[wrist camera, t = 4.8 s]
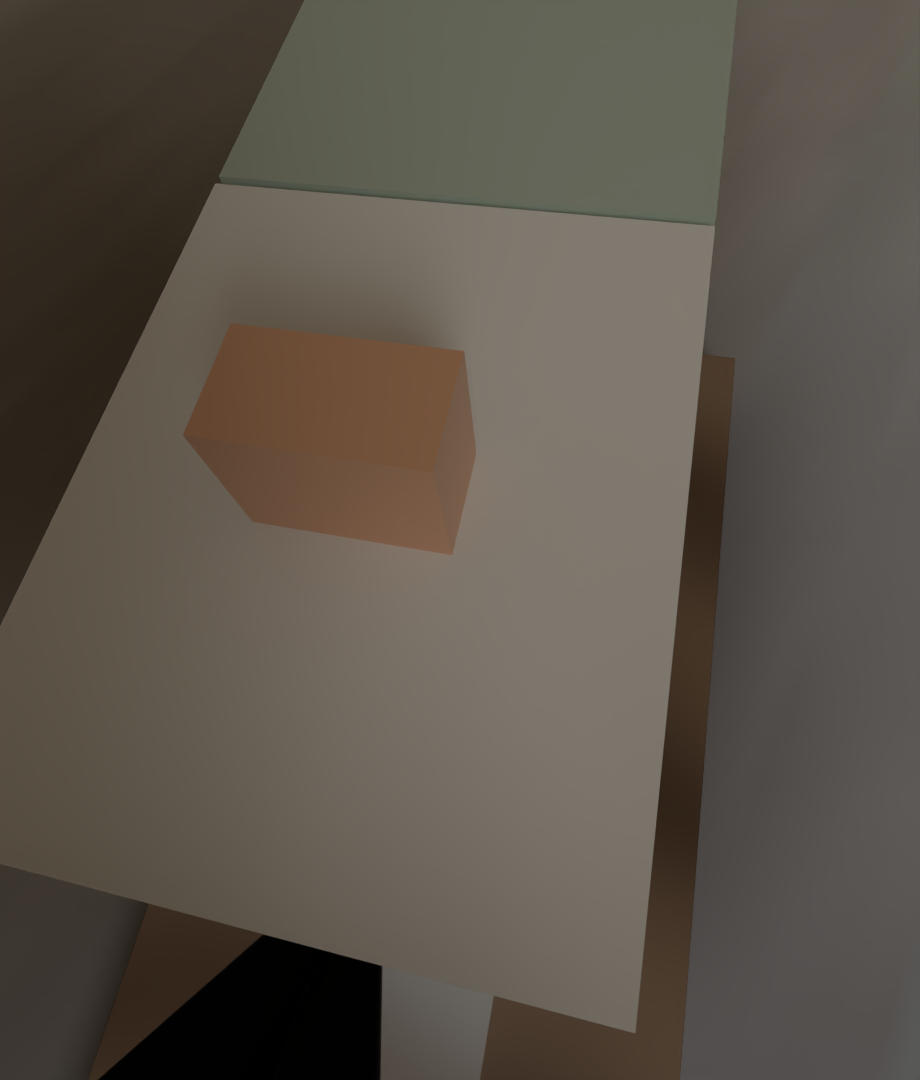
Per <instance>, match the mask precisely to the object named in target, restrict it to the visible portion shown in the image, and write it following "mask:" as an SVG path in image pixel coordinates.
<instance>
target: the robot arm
mask: <svg viewBox="0 0 920 1080" xmlns="http://www.w3.org/2000/svg"><path fill="white" fill-rule="evenodd" d="M382 971H383V966H380V965H377V964H373V963H369V962H365V961H362V960H358V959H354V958H351V957H347V956H343V955H339V954H336V953H332V952H328V951H324V950H321V949H317V948H313V947H309V946H306V945H302V944H298V943H294V942H291V941H287V940H283V939H279V938H276V937H272V936H268V935H264V934H263V935H261V936H260V937H259V938H258V939H257V940H256V941H255V942H254V943H252V944H251V945H250V946H249V947H248V948H247V949H246V950H244V951H243V952H242V953H241V954H240V955H239V956H238V957H236V958H235V959H234V960H233V961H232V962H231V963H230V964H229V965H227V966H226V967H225V968H224V969H223V970H222V971H221V972H219V973H218V974H217V975H216V976H215V977H214V978H213V979H212V980H210V981H209V982H208V983H207V984H206V985H205V986H204V987H202V988H201V989H200V990H199V991H198V992H197V993H196V994H194V995H193V996H192V997H191V998H190V999H189V1000H188V1001H187V1002H185V1003H184V1004H183V1005H182V1006H181V1007H180V1008H179V1009H177V1010H176V1011H175V1012H174V1013H173V1014H172V1015H171V1016H170V1017H168V1018H167V1019H166V1020H165V1021H164V1022H163V1023H162V1024H160V1025H159V1026H158V1027H157V1028H156V1029H155V1030H154V1031H152V1032H151V1033H150V1034H149V1035H148V1036H147V1037H146V1038H145V1039H143V1040H142V1041H141V1042H140V1043H139V1044H138V1045H137V1046H135V1047H134V1048H133V1049H132V1050H131V1051H130V1052H129V1053H127V1054H126V1055H125V1056H124V1057H123V1058H122V1059H121V1060H120V1061H118V1062H117V1063H116V1064H115V1065H114V1066H113V1067H112V1068H110V1069H109V1070H108V1071H107V1072H106V1073H105V1074H104V1075H102V1076H101V1077H100V1078H99V1079H98V1080H381V1029H382Z"/></svg>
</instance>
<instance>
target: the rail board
mask: <svg viewBox="0 0 920 1080" xmlns="http://www.w3.org/2000/svg"><path fill="white" fill-rule="evenodd" d="M734 364H735V358H729V357H720V356H711V355H703V354H702V363H701V373H700V384H699V394H698V404H697V414H696V424H695V434H694V444H693V454H692V465H691V475H690V485H689V495H688V505H687V515H686V525H685V536H684V546H683V556H682V566H681V576H680V586H679V596H678V606H677V617H676V627H675V637H674V647H673V657H672V667H671V677H670V688H669V698H668V708H667V718H666V728H665V738H664V748H663V759H662V769H661V779H660V789H659V799H658V809H657V819H656V829H655V840H654V850H653V860H652V870H651V880H650V890H649V900H648V911H647V921H646V931H645V941H644V951H643V961H642V971H641V982H640V992H639V1002H638V1012H637V1022H636V1032H635V1033H631V1032H628V1031H624V1030H620V1029H617V1028H613V1027H609V1026H605V1025H602V1024H598V1023H594V1022H590V1021H587V1020H583V1019H579V1018H575V1017H572V1016H568V1015H564V1014H560V1013H557V1012H553V1011H549V1010H545V1009H542V1008H538V1007H534V1006H530V1005H527V1004H523V1003H519V1002H515V1001H512V1000H508V999H504V998H500V997H497V996H493V995H489V994H485V993H482V992H478V991H474V990H470V989H467V988H463V987H459V986H455V985H452V984H448V983H444V982H440V981H437V980H433V979H429V978H425V977H422V976H418V975H414V974H410V973H407V972H403V971H399V970H395V969H392V968H388V967H384V966H383V971H382V1029H381V1080H680V1071H681V1058H682V1045H683V1032H684V1019H685V1006H686V993H687V980H688V967H689V953H690V940H691V927H692V914H693V901H694V888H695V875H696V862H697V849H698V836H699V822H700V809H701V796H702V783H703V770H704V757H705V744H706V731H707V718H708V705H709V691H710V678H711V665H712V652H713V639H714V626H715V613H716V600H717V587H718V574H719V560H720V547H721V534H722V521H723V508H724V495H725V482H726V469H727V456H728V443H729V430H730V416H731V403H732V390H733V377H734ZM261 935H263V934H261V933H257V932H253V931H249V930H246V929H242V928H238V927H234V926H231V925H227V924H223V923H219V922H216V921H212V920H208V919H204V918H201V917H197V916H193V915H189V914H186V913H182V912H178V911H174V910H171V909H167V908H163V907H159V906H156V905H152V904H148V907H147V910H146V913H145V916H144V919H143V922H142V925H141V928H140V930H139V933H138V936H137V939H136V942H135V945H134V948H133V951H132V954H131V956H130V959H129V962H128V965H127V968H126V971H125V974H124V977H123V980H122V982H121V985H120V988H119V991H118V994H117V997H116V1000H115V1003H114V1006H113V1008H112V1011H111V1014H110V1017H109V1020H108V1023H107V1026H106V1029H105V1032H104V1035H103V1037H102V1040H101V1043H100V1046H99V1049H98V1052H97V1055H96V1058H95V1061H94V1063H93V1066H92V1069H91V1072H90V1075H89V1078H88V1080H98V1079H99V1078H100V1077H101V1076H102V1075H104V1074H105V1073H106V1072H107V1071H108V1070H109V1069H110V1068H112V1067H113V1066H114V1065H115V1064H116V1063H117V1062H118V1061H120V1060H121V1059H122V1058H123V1057H124V1056H125V1055H126V1054H127V1053H129V1052H130V1051H131V1050H132V1049H133V1048H134V1047H135V1046H137V1045H138V1044H139V1043H140V1042H141V1041H142V1040H143V1039H145V1038H146V1037H147V1036H148V1035H149V1034H150V1033H151V1032H152V1031H154V1030H155V1029H156V1028H157V1027H158V1026H159V1025H160V1024H162V1023H163V1022H164V1021H165V1020H166V1019H167V1018H168V1017H170V1016H171V1015H172V1014H173V1013H174V1012H175V1011H176V1010H177V1009H179V1008H180V1007H181V1006H182V1005H183V1004H184V1003H185V1002H187V1001H188V1000H189V999H190V998H191V997H192V996H193V995H194V994H196V993H197V992H198V991H199V990H200V989H201V988H202V987H204V986H205V985H206V984H207V983H208V982H209V981H210V980H212V979H213V978H214V977H215V976H216V975H217V974H218V973H219V972H221V971H222V970H223V969H224V968H225V967H226V966H227V965H229V964H230V963H231V962H232V961H233V960H234V959H235V958H236V957H238V956H239V955H240V954H241V953H242V952H243V951H244V950H246V949H247V948H248V947H249V946H250V945H251V944H252V943H254V942H255V941H256V940H257V939H258V938H259V937H260V936H261Z"/></svg>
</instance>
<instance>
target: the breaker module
mask: <svg viewBox="0 0 920 1080" xmlns="http://www.w3.org/2000/svg"><path fill="white" fill-rule="evenodd" d="M714 231H715V226H707V225H696V224H684V223H672V222H661V221H649V220H637V219H625V218H614V217H602V216H590V215H579V214H567V213H555V212H544V211H532V210H520V209H509V208H497V207H485V206H473V205H462V204H450V203H438V202H427V201H415V200H403V199H392V198H380V197H368V196H357V195H345V194H333V193H322V192H310V191H298V190H286V189H275V188H263V187H251V186H240V185H228V184H216V183H215V185H214V187H213V189H212V191H211V193H210V195H209V197H208V199H207V201H206V203H205V206H204V208H203V210H202V212H201V214H200V216H199V218H198V220H197V222H196V224H195V226H194V228H193V230H192V232H191V234H190V236H189V238H188V240H187V243H186V245H185V247H184V249H183V251H182V253H181V255H180V257H179V259H178V261H177V263H176V265H175V267H174V269H173V271H172V273H171V275H170V278H169V280H168V282H167V284H166V286H165V288H164V290H163V292H162V294H161V296H160V298H159V300H158V302H157V304H156V306H155V308H154V310H153V313H152V315H151V317H150V319H149V321H148V323H147V325H146V327H145V329H144V331H143V333H142V335H141V337H140V339H139V341H138V343H137V345H136V347H135V350H134V352H133V354H132V356H131V358H130V360H129V362H128V364H127V366H126V368H125V370H124V372H123V374H122V376H121V378H120V380H119V382H118V385H117V387H116V389H115V391H114V393H113V395H112V397H111V399H110V401H109V403H108V405H107V407H106V409H105V411H104V413H103V415H102V417H101V420H100V422H99V424H98V426H97V428H96V430H95V432H94V434H93V436H92V438H91V440H90V442H89V444H88V446H87V448H86V450H85V452H84V454H83V457H82V459H81V461H80V463H79V465H78V467H77V469H76V471H75V473H74V475H73V477H72V479H71V481H70V483H69V485H68V487H67V489H66V492H65V494H64V496H63V498H62V500H61V502H60V504H59V506H58V508H57V510H56V512H55V514H54V516H53V518H52V520H51V522H50V524H49V527H48V529H47V531H46V533H45V535H44V537H43V539H42V541H41V543H40V545H39V547H38V549H37V551H36V553H35V555H34V557H33V559H32V562H31V564H30V566H29V568H28V570H27V572H26V574H25V576H24V578H23V580H22V582H21V584H20V586H19V588H18V590H17V592H16V594H15V596H14V599H13V601H12V603H11V605H10V607H9V609H8V611H7V613H6V615H5V617H4V619H3V621H2V623H1V625H0V864H2V865H6V866H10V867H13V868H17V869H21V870H25V871H28V872H32V873H36V874H40V875H43V876H47V877H51V878H55V879H58V880H62V881H66V882H70V883H73V884H77V885H81V886H85V887H88V888H92V889H96V890H99V891H103V892H107V893H111V894H114V895H118V896H122V897H126V898H129V899H133V900H137V901H141V902H144V903H148V904H152V905H156V906H159V907H163V908H167V909H171V910H174V911H178V912H182V913H186V914H189V915H193V916H197V917H201V918H204V919H208V920H212V921H216V922H219V923H223V924H227V925H231V926H234V927H238V928H242V929H246V930H249V931H253V932H257V933H261V934H264V935H268V936H272V937H276V938H279V939H283V940H287V941H291V942H294V943H298V944H302V945H306V946H309V947H313V948H317V949H321V950H324V951H328V952H332V953H336V954H339V955H343V956H347V957H351V958H354V959H358V960H362V961H365V962H369V963H373V964H377V965H380V966H384V967H388V968H392V969H395V970H399V971H403V972H407V973H410V974H414V975H418V976H422V977H425V978H429V979H433V980H437V981H440V982H444V983H448V984H452V985H455V986H459V987H463V988H467V989H470V990H474V991H478V992H482V993H485V994H489V995H493V996H497V997H500V998H504V999H508V1000H512V1001H515V1002H519V1003H523V1004H527V1005H530V1006H534V1007H538V1008H542V1009H545V1010H549V1011H553V1012H557V1013H560V1014H564V1015H568V1016H572V1017H575V1018H579V1019H583V1020H587V1021H590V1022H594V1023H598V1024H602V1025H605V1026H609V1027H613V1028H617V1029H620V1030H624V1031H628V1032H631V1033H635V1032H636V1022H637V1012H638V1002H639V992H640V982H641V971H642V961H643V951H644V941H645V931H646V921H647V911H648V900H649V890H650V880H651V870H652V860H653V850H654V840H655V829H656V819H657V809H658V799H659V789H660V779H661V769H662V759H663V748H664V738H665V728H666V718H667V708H668V698H669V688H670V677H671V667H672V657H673V647H674V637H675V627H676V617H677V606H678V596H679V586H680V576H681V566H682V556H683V546H684V536H685V525H686V515H687V505H688V495H689V485H690V475H691V465H692V454H693V444H694V434H695V424H696V414H697V404H698V394H699V384H700V373H701V363H702V353H703V343H704V333H705V323H706V313H707V302H708V292H709V282H710V272H711V262H712V252H713V242H714Z"/></svg>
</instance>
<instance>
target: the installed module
mask: <svg viewBox="0 0 920 1080" xmlns="http://www.w3.org/2000/svg"><path fill="white" fill-rule="evenodd" d="M737 1H738V0H304V2H303V4H302V6H301V8H300V10H299V12H298V15H297V17H296V19H295V21H294V23H293V25H292V27H291V29H290V31H289V33H288V35H287V37H286V39H285V41H284V43H283V45H282V47H281V50H280V52H279V54H278V56H277V58H276V60H275V62H274V64H273V66H272V68H271V70H270V72H269V74H268V76H267V78H266V80H265V82H264V85H263V87H262V89H261V91H260V93H259V95H258V97H257V99H256V101H255V103H254V105H253V107H252V109H251V111H250V113H249V115H248V117H247V120H246V122H245V124H244V126H243V128H242V130H241V132H240V134H239V136H238V138H237V140H236V142H235V144H234V146H233V148H232V150H231V152H230V154H229V157H228V159H227V161H226V163H225V165H224V167H223V169H222V171H221V173H220V175H219V178H220V180H221V182H222V184H228V185H240V186H251V187H263V188H275V189H286V190H298V191H310V192H322V193H333V194H345V195H357V196H368V197H380V198H392V199H403V200H415V201H427V202H438V203H450V204H462V205H473V206H485V207H497V208H509V209H520V210H532V211H544V212H555V213H567V214H579V215H590V216H602V217H614V218H625V219H637V220H649V221H661V222H672V223H684V224H696V225H707V226H714V223H715V220H716V214H717V204H718V194H719V183H720V173H721V163H722V153H723V143H724V133H725V122H726V112H727V102H728V92H729V82H730V72H731V62H732V51H733V41H734V31H735V21H736V11H737Z"/></svg>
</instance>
